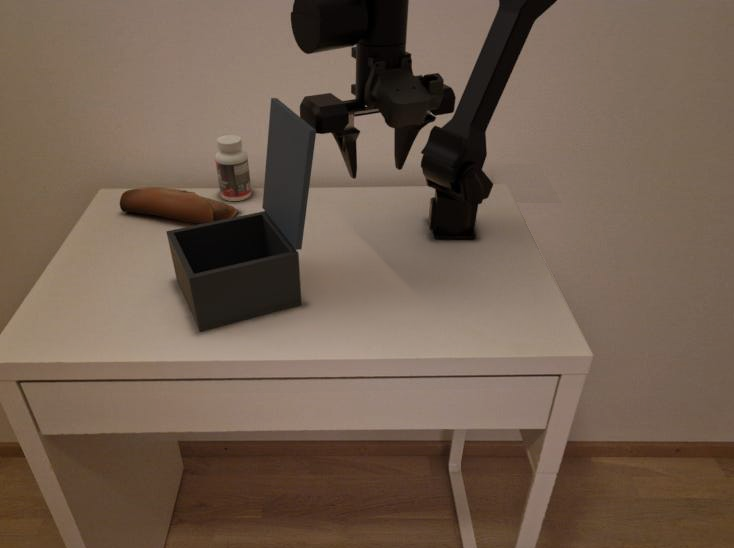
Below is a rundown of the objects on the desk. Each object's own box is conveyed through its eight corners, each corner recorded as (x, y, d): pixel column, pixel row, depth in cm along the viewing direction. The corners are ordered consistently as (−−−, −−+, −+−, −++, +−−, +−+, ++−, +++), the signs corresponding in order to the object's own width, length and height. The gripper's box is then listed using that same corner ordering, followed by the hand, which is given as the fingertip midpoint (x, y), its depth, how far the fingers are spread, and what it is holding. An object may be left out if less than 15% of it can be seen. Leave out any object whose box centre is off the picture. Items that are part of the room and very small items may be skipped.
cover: (309, 130, 64) (316, 130, 64) (270, 97, 72) (277, 98, 73) (295, 249, 72) (301, 249, 72) (262, 207, 81) (267, 207, 81)
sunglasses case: (241, 207, 98) (227, 182, 92) (226, 243, 96) (210, 220, 90) (150, 191, 103) (130, 167, 97) (134, 226, 101) (113, 203, 95)
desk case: (199, 332, 73) (188, 278, 68) (177, 281, 82) (166, 231, 77) (301, 305, 77) (298, 253, 72) (269, 260, 86) (265, 210, 81)
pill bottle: (214, 196, 103) (205, 139, 96) (237, 186, 106) (230, 130, 100) (235, 205, 100) (227, 147, 94) (258, 194, 103) (252, 137, 97)
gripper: (335, 67, 59) (336, 212, 69) (490, 47, 65) (470, 184, 75) (295, 43, 67) (301, 176, 77) (437, 27, 72) (425, 153, 83)
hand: (376, 173), depth 78 cm, fingers open, 6 cm apart
